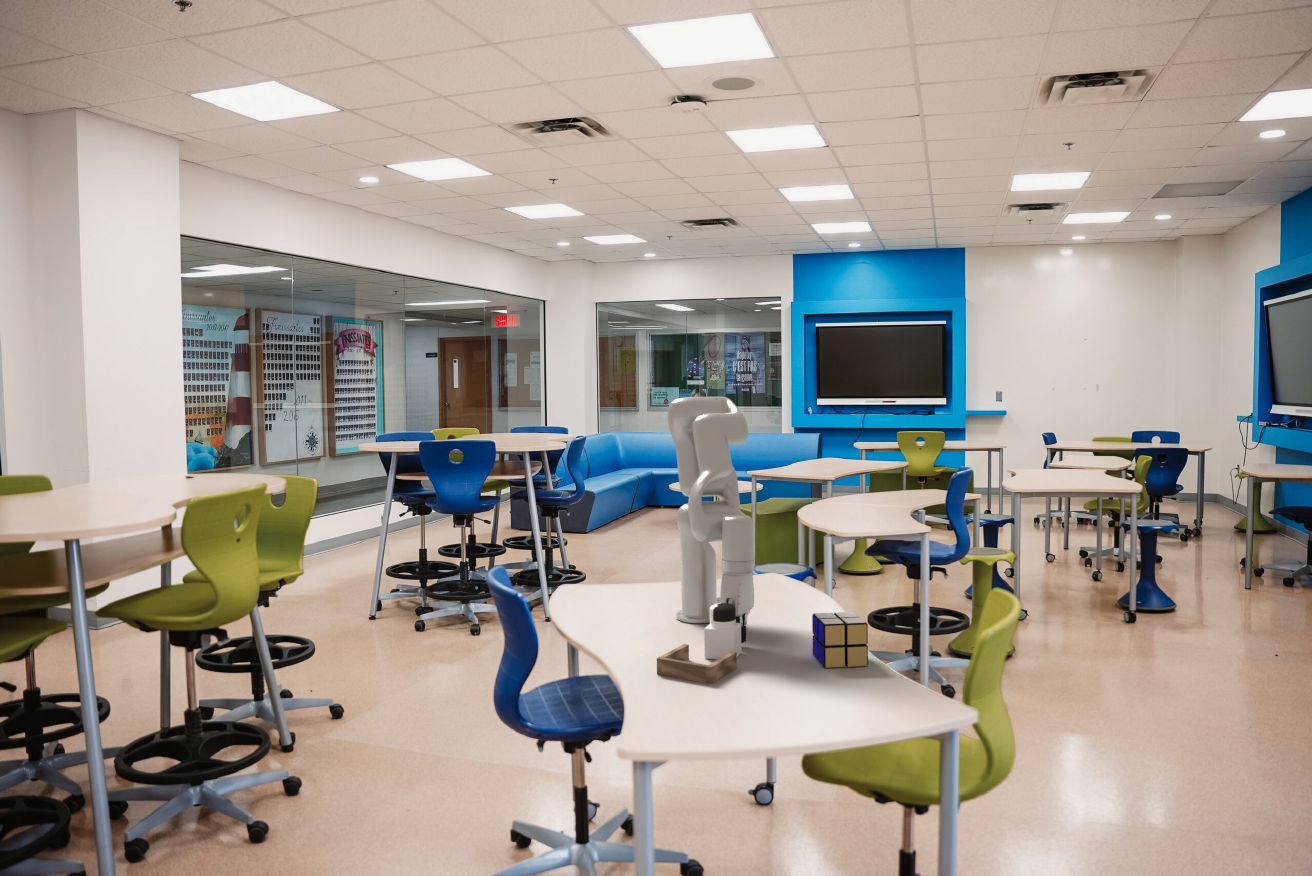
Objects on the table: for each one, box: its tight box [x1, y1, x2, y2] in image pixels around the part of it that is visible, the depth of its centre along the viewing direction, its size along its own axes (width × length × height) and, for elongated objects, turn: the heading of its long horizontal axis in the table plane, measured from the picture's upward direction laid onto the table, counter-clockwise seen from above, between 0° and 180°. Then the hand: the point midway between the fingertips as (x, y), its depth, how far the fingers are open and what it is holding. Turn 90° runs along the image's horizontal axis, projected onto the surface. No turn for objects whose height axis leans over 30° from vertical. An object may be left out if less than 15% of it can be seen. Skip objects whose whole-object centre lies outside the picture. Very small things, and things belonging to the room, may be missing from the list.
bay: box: [656, 643, 738, 685], centre depth 192 cm, size 12×13×4 cm
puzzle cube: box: [811, 611, 869, 669], centre depth 197 cm, size 10×10×10 cm
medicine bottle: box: [703, 603, 742, 661], centre depth 203 cm, size 7×7×12 cm
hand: (738, 641), depth 210 cm, fingers closed
